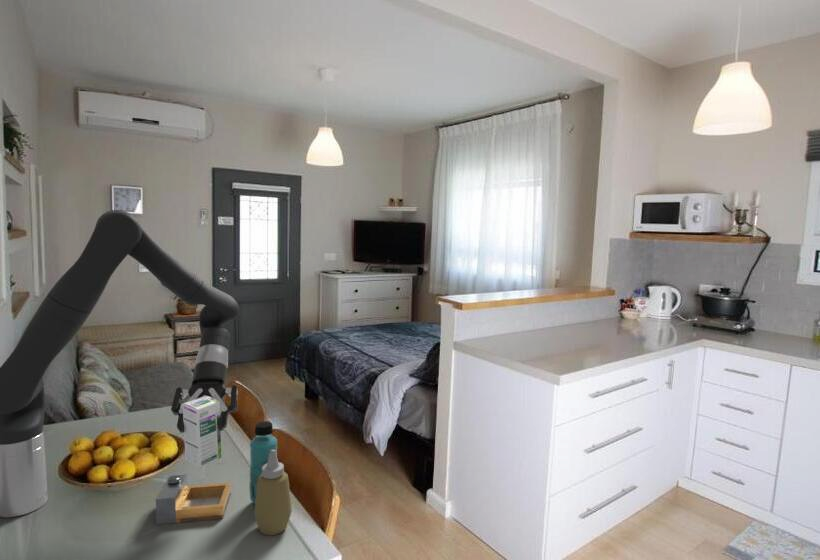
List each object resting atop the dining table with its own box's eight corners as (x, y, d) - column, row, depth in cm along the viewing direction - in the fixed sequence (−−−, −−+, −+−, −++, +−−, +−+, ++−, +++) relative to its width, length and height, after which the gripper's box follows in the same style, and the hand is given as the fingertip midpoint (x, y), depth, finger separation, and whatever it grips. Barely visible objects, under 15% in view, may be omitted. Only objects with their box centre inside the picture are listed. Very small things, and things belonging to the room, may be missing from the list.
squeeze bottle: (281, 542, 100) (281, 462, 98) (247, 536, 101) (246, 457, 99) (298, 519, 108) (298, 444, 106) (265, 514, 109) (265, 440, 107)
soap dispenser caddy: (156, 524, 104) (155, 495, 104) (170, 498, 114) (169, 472, 113) (223, 518, 107) (222, 490, 106) (230, 494, 117) (230, 468, 116)
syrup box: (199, 469, 106) (197, 409, 103) (184, 460, 109) (182, 402, 106) (221, 458, 111) (220, 400, 108) (206, 449, 114) (204, 393, 111)
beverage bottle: (243, 506, 112) (242, 426, 110) (262, 492, 118) (261, 416, 116) (266, 513, 109) (265, 431, 107) (283, 498, 116) (283, 421, 113)
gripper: (177, 360, 113) (163, 426, 103) (239, 358, 116) (231, 422, 106) (183, 374, 119) (171, 438, 109) (242, 372, 122) (236, 434, 112)
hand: (201, 430), depth 108 cm, fingers closed on syrup box, 8 cm apart
